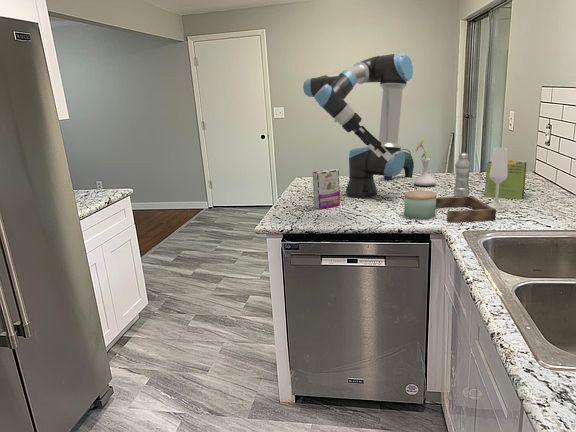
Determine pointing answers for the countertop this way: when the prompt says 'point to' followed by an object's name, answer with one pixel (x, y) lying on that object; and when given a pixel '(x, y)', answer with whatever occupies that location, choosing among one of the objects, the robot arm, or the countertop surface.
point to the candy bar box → (326, 188)
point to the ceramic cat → (405, 166)
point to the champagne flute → (498, 172)
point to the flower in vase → (424, 170)
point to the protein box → (508, 181)
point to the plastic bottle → (462, 176)
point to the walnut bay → (478, 214)
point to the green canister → (420, 204)
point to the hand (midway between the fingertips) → (385, 156)
